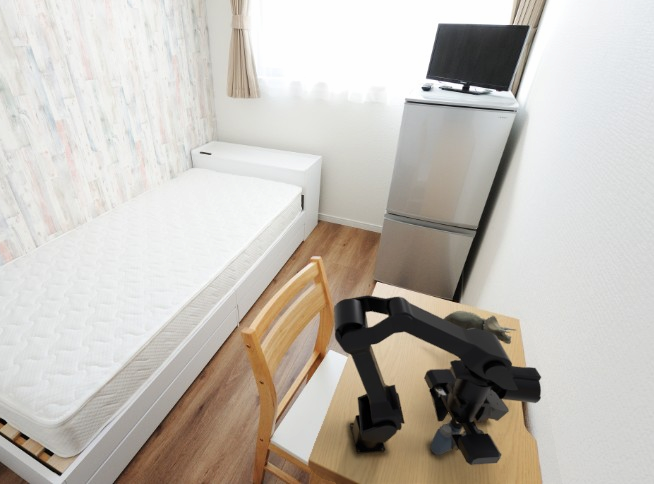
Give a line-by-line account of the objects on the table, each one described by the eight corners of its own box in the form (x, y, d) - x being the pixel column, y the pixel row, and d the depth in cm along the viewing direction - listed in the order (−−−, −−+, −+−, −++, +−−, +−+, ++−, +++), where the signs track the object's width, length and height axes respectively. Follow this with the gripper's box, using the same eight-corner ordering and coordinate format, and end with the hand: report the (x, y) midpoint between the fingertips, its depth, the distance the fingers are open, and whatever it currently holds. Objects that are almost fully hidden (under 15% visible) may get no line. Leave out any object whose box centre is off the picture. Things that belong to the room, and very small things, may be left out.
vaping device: (453, 448, 77) (471, 417, 71) (435, 457, 75) (451, 425, 69) (445, 437, 79) (461, 406, 73) (427, 446, 77) (442, 414, 71)
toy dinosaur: (421, 333, 106) (430, 305, 101) (425, 316, 113) (434, 289, 107) (501, 362, 98) (517, 334, 92) (501, 342, 104) (515, 314, 99)
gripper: (544, 436, 59) (510, 481, 67) (481, 349, 75) (459, 393, 83) (483, 439, 58) (455, 485, 66) (432, 350, 74) (415, 396, 82)
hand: (446, 434), depth 74 cm, fingers open, 6 cm apart
